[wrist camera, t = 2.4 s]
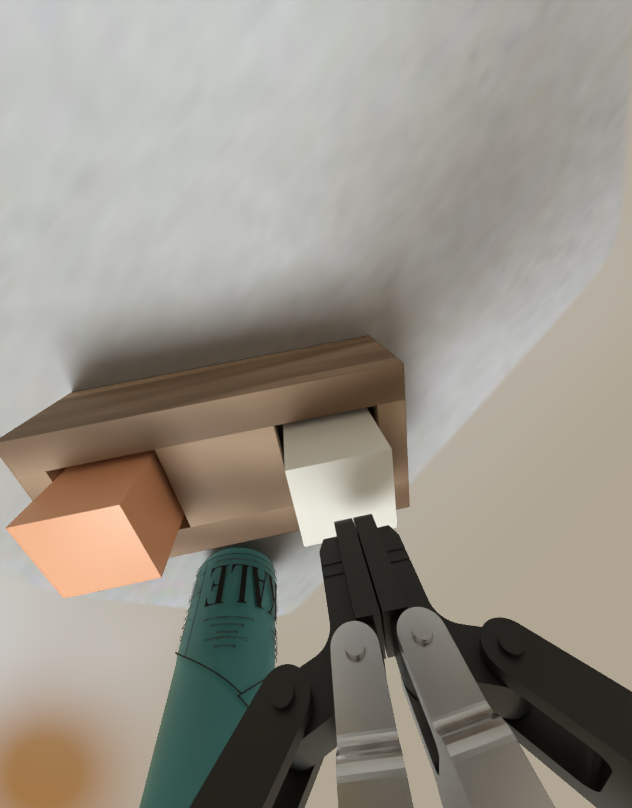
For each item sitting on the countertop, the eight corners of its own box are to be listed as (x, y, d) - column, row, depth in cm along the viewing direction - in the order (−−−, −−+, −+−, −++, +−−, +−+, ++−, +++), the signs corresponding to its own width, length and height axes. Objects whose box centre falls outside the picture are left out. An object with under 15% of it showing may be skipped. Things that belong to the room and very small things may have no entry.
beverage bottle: (216, 590, 28) (110, 1175, 10) (187, 540, 25) (-34, 1232, 7) (286, 572, 28) (303, 1123, 10) (265, 520, 25) (236, 1157, 7)
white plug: (282, 415, 17) (284, 471, 12) (361, 399, 17) (391, 448, 13) (297, 478, 19) (304, 547, 14) (368, 463, 19) (397, 527, 14)
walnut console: (71, 392, 19) (-10, 444, 14) (369, 335, 20) (403, 363, 14) (131, 501, 23) (87, 575, 18) (379, 450, 24) (409, 506, 18)
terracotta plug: (79, 455, 16) (5, 528, 12) (162, 438, 17) (119, 504, 12) (115, 515, 18) (63, 598, 14) (189, 500, 19) (161, 577, 14)
